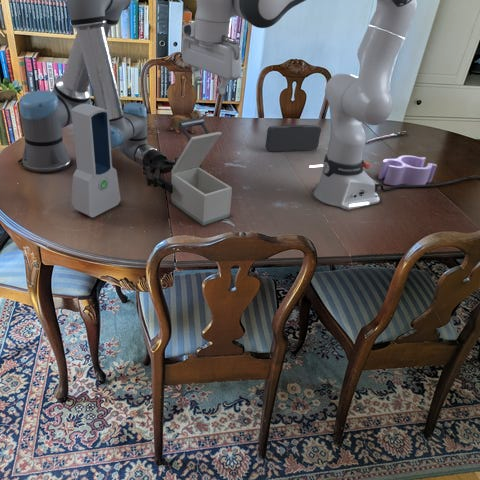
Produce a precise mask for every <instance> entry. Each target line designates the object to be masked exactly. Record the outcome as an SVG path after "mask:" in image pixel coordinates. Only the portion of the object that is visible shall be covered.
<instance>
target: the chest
mask: <svg viewBox="0 0 480 480" xmlns="http://www.w3.org/2000/svg"><path fill="white" fill-rule="evenodd" d="M171 184H172V185H173V193H171V194H170V196H171V197H170V203H172V204H173V205H174V206H176V207H177V208H178V209H180V210H181V211H182V212H184V214H187V215H188V216H189V217H191V218H192V219H193V220H194V221H196V222H198V223H199V224H201V226H205V225H209V224H212V223H215V222H217V221H221V220H223V219H225V218H229V217H231V205H232V195H233V194H232V193H233V187H232V186H231V185H229V184H227V183H225V182H224V181H222V180H220V179H218V178H217V177H215V176H214V175H212V174H210V173H209V172H208V171H206V170H204V169H202V167H201V168H199V167H197V168H193V169H189V170H185V171H181V172H176V173H171Z"/></svg>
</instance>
